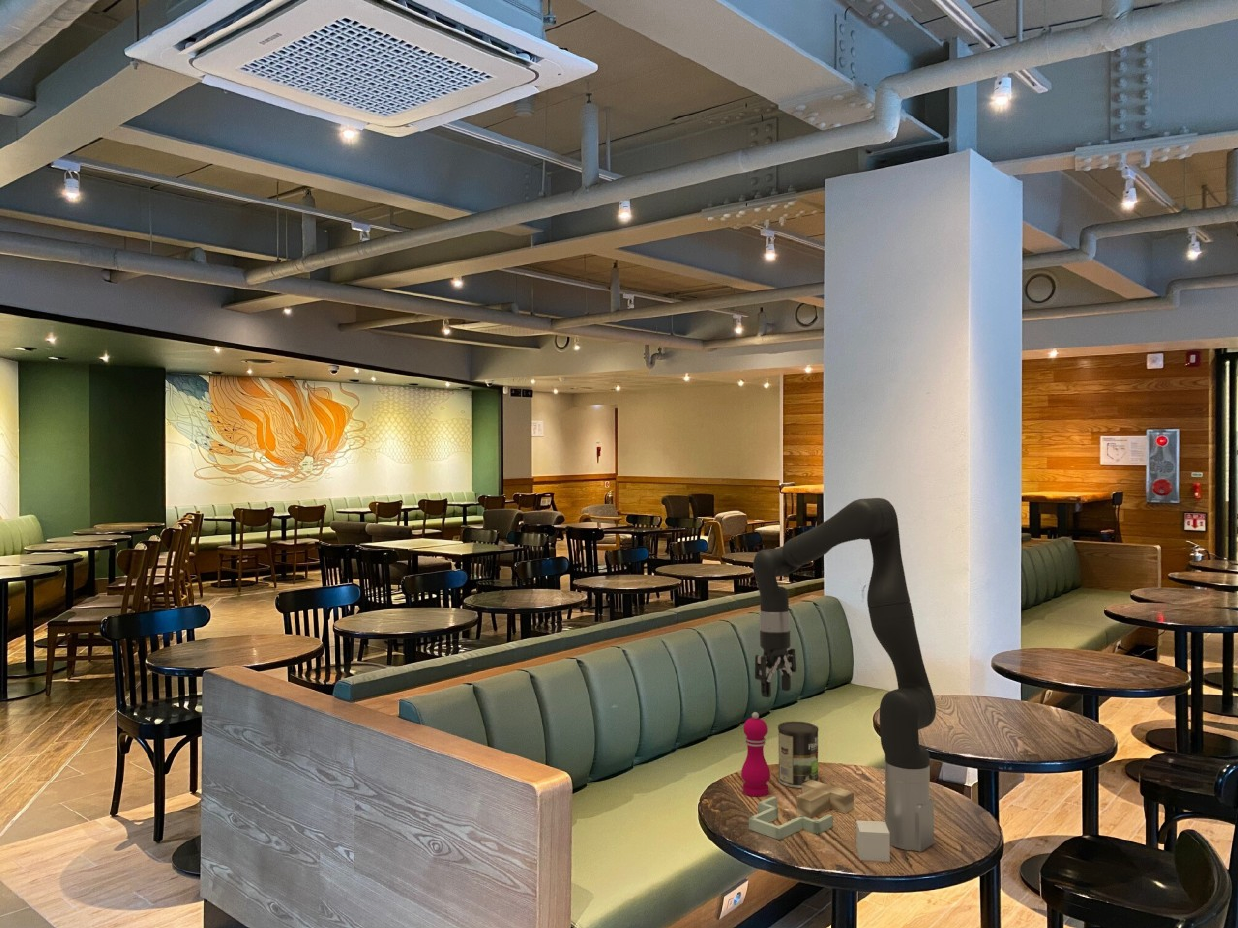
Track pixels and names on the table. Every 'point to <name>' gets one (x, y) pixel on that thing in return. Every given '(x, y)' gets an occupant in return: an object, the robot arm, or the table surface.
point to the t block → (823, 799)
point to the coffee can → (798, 753)
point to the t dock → (770, 813)
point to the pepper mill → (755, 758)
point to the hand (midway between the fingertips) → (776, 693)
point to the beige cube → (872, 841)
